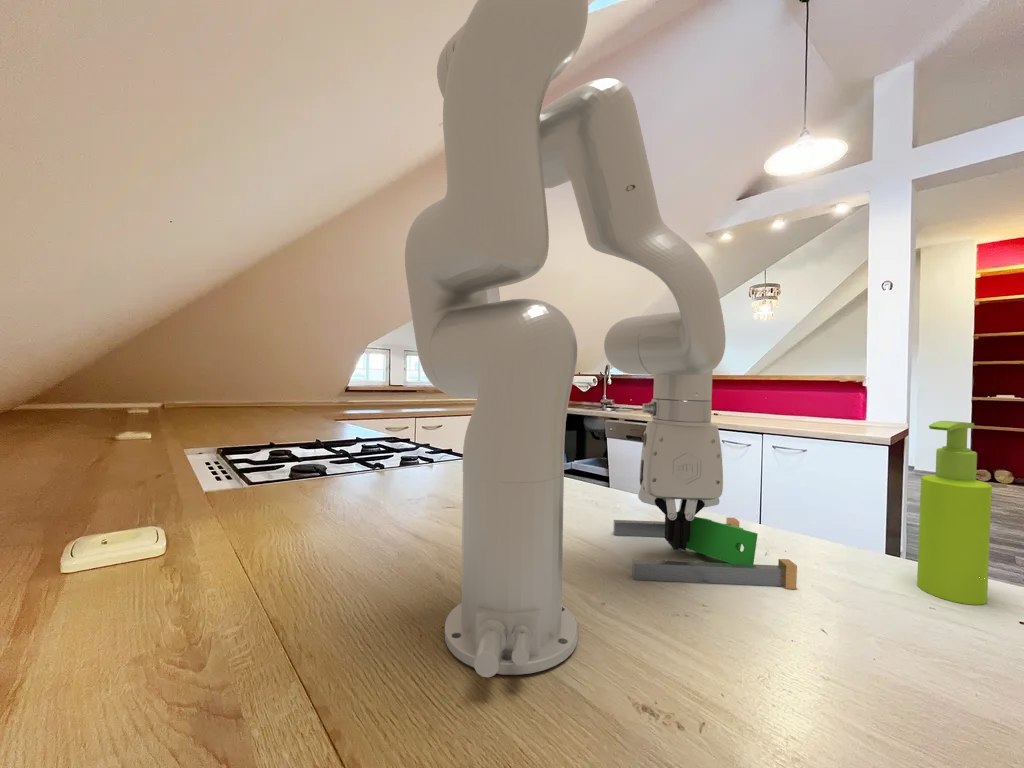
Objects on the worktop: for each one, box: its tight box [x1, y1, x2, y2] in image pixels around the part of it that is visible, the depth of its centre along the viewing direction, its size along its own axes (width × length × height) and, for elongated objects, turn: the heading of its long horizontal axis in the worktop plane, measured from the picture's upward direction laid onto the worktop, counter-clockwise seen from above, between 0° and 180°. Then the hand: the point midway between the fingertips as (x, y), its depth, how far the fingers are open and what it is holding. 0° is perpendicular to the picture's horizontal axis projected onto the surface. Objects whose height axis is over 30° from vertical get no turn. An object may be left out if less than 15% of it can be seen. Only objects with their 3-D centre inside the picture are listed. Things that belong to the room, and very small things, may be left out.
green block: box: [676, 511, 759, 564], centre depth 62 cm, size 11×4×5 cm, turn 37°
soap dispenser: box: [916, 420, 993, 606], centre depth 53 cm, size 6×7×20 cm
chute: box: [613, 517, 798, 590], centre depth 63 cm, size 18×19×3 cm
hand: (676, 546), depth 63 cm, fingers closed
